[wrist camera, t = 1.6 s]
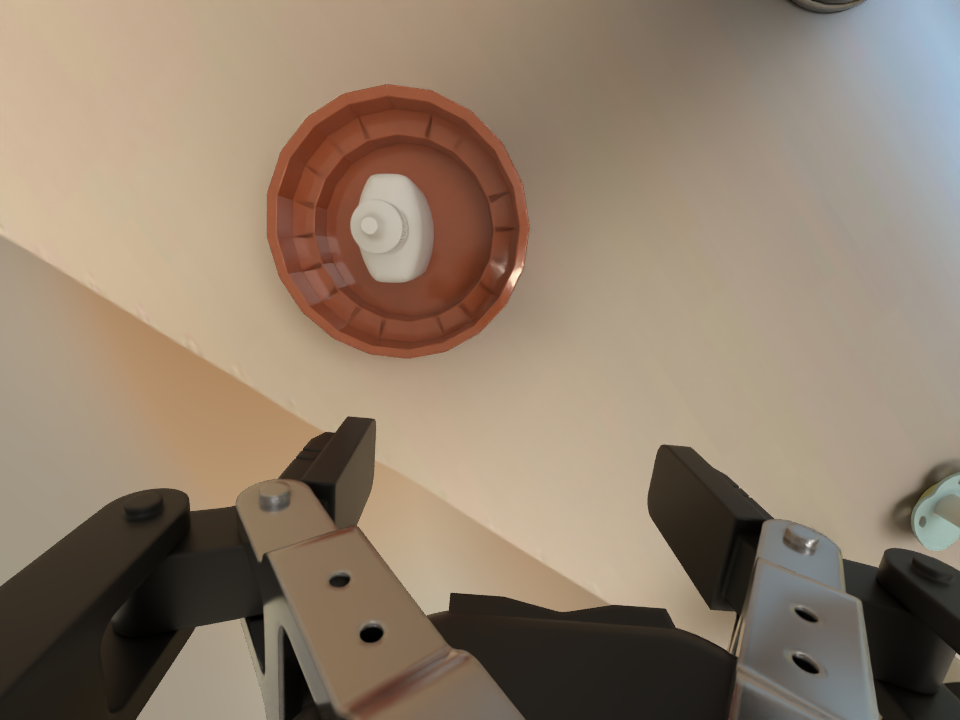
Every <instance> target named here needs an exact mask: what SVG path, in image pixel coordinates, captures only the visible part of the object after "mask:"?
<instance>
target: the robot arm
mask: <svg viewBox="0 0 960 720" xmlns="http://www.w3.org/2000/svg"><path fill="white" fill-rule="evenodd" d="M791 1H792V2H794V3H795V4H797V5H799V6H801V7H803V8H806V9H809V10H812V11H817V12H837V11H842V10H846V9H849V8H852V7H855V6H857V5H859V4H861V3H863V2H864V1H866V0H791ZM375 440H376V421H375V419H370V418H359V417H347V418H346V419H345V420H344V422H343V423H342V424H341V426H340V427H339V429H338V430H337V431H336V433H332V432H325V433H323V434H321V435H319V436H317V437H315V438H313V439H311V440H310V441H309V442H308V444H307V445H306V446H305V447H304V448H303V451H301V452H300V453H299V454H298V456H297V457H296V459H294V460H293V461H292V463H291V464H290V465H289V466H288V467H287V468H286V470H285V471H284V472H283V473H282V474H281V476H280V477H279V478H278V479H273V480H268V481H263V482H260V483H257V484H254V485H252V486H250V487H248V488H247V489H245V490H244V491H242V492H241V493H240V494H239V495H238V497H237V499H236V506H232V507H226V508H219V509H208V510H199V511H190V504H189V497H188V496H187V494H185V493H184V492H182V491H179V490H175V489H167V488H160V489H150V490H144V491H139V492H135V493H132V494H129V495H126V496H123V497H121V498H118V499H116V500H114V501H112V502H111V503H109V504H107V505H106V506H104V507H103V508H102V509H101V510H99V511H98V512H97V513H95V514H94V515H93V516H92V517H90V518H89V519H88V520H86V521H85V522H84V523H83V524H81V525H80V526H78V527H77V528H76V529H75V530H73V531H72V532H71V533H69V534H68V535H67V536H65V537H64V538H63V539H62V540H60V541H59V542H58V543H56V544H55V545H54V546H52V547H51V548H50V549H49V550H47V551H46V552H45V553H43V554H42V555H41V556H39V557H38V558H37V559H36V560H34V561H33V562H32V563H30V564H29V565H28V566H27V567H25V568H24V569H23V570H21V571H20V572H19V573H17V574H16V575H15V576H13V577H12V578H11V579H10V580H8V581H7V582H6V583H4V584H3V585H2V586H0V720H136V718H137V716H138V715H139V714H140V712H141V711H142V709H143V708H144V706H145V705H146V703H147V702H148V700H149V698H150V697H151V695H152V694H153V692H154V691H155V689H156V688H157V686H158V685H159V683H160V682H161V680H162V679H163V677H164V675H165V674H166V672H167V671H168V669H169V668H170V666H171V665H172V663H173V662H174V660H175V658H176V657H177V655H178V654H179V653H180V651H181V649H182V648H183V646H184V645H185V643H186V642H187V640H188V639H189V637H190V636H191V634H192V633H193V631H194V629H195V627H197V626H203V625H208V624H213V623H219V622H223V621H229V620H235V619H240V618H241V625H242V628H243V632H244V635H245V639H246V642H247V645H248V649H249V652H250V655H251V659H252V662H253V665H254V669H255V672H256V675H257V678H258V682H259V685H260V689H261V692H262V696H263V700H264V705H265V712H266V718H267V720H879V714H880V715H881V716H882V717H883V718H884V720H960V700H959V699H958V698H957V697H956V696H955V695H954V694H953V693H952V692H951V691H950V690H949V689H948V688H947V687H946V686H945V685H944V684H943V681H944V678H945V676H946V674H947V672H948V670H949V667H950V665H951V663H952V661H953V658H954V656H955V654H956V652H957V653H958V654H959V655H960V571H958V570H957V569H955V568H953V567H951V566H949V565H947V564H946V563H943V562H942V561H939V560H937V559H935V558H932V557H930V556H927V555H924V554H921V553H918V552H914V551H910V550H906V549H900V548H890V549H887V550H886V551H885V552H884V555H883V557H882V560H881V563H880V565H879V568H877V567H873V566H869V565H866V564H862V563H858V562H854V561H850V560H846V559H842V553H841V550H840V549H839V547H838V546H837V545H836V544H835V543H834V542H833V541H831V540H830V539H829V538H827V537H826V536H824V535H823V534H821V533H819V532H817V531H815V530H813V529H811V528H809V527H807V526H804V525H801V524H798V523H795V522H792V521H787V520H781V519H774V518H773V517H772V516H771V515H770V514H768V513H767V512H766V511H765V510H764V509H763V508H762V507H761V506H760V505H759V504H758V503H756V502H755V501H754V500H753V499H752V498H749V495H748V494H747V493H745V492H744V491H743V490H742V489H741V488H739V486H738V485H737V484H736V483H735V482H733V481H732V480H731V479H730V478H729V477H728V476H727V475H725V474H723V473H722V472H720V471H718V470H716V469H715V468H713V467H712V466H711V465H710V464H708V463H707V462H706V461H705V460H704V459H703V458H702V457H701V456H700V455H699V454H698V453H697V452H696V451H695V450H693V449H692V448H691V447H685V446H674V445H661V446H660V448H659V449H658V452H657V455H656V460H655V464H654V469H653V474H652V478H651V483H650V487H649V492H648V510H649V514H650V517H651V518H652V520H653V522H654V523H655V525H656V526H657V528H658V529H659V531H660V532H661V534H662V536H663V537H664V539H665V540H666V542H667V543H668V545H669V546H670V548H671V549H672V551H673V553H674V554H675V556H676V557H677V559H678V560H679V562H680V563H681V565H682V566H683V568H684V570H685V571H686V573H687V574H688V576H689V577H690V579H691V580H692V582H693V583H694V585H695V587H696V588H697V590H698V591H699V593H700V594H701V596H702V597H703V599H704V600H705V602H706V603H707V605H708V607H709V608H710V610H722V611H736V613H737V614H736V618H735V621H734V624H733V628H732V632H731V636H730V641H729V645H728V649H727V651H726V650H725V649H723V648H721V647H720V646H718V645H716V644H714V643H712V642H710V641H708V640H706V639H704V638H702V637H700V636H697V635H695V634H692V633H690V632H687V631H684V630H681V629H678V628H676V627H675V625H674V623H673V622H672V620H671V618H670V616H669V614H668V612H667V610H666V609H662V608H649V607H635V606H622V605H610V606H603V607H597V608H590V609H583V610H577V611H570V612H558V611H554V610H550V609H546V608H543V607H539V606H536V605H532V604H528V603H525V602H521V601H517V600H514V599H510V598H506V597H500V596H486V595H473V594H459V593H451V594H450V604H449V611H443V612H438V613H434V614H431V615H427V616H426V615H425V614H424V612H423V611H422V610H421V608H420V607H419V606H418V604H417V603H416V602H415V600H414V599H413V598H412V597H411V595H410V594H409V593H408V591H407V590H406V589H405V587H404V586H403V585H402V583H401V582H400V581H399V580H398V578H397V577H396V576H395V574H394V573H393V572H392V570H391V569H390V568H389V566H388V565H387V564H386V562H385V561H384V560H383V558H382V557H381V556H380V554H379V553H378V552H377V550H376V549H375V548H374V546H373V545H372V544H371V543H370V541H369V540H368V539H367V537H366V536H365V535H364V533H363V532H362V531H361V530H360V528H359V527H357V523H358V521H359V519H360V516H361V514H362V512H363V509H364V507H365V504H366V502H367V499H368V497H369V495H370V492H371V489H372V484H373V477H374V462H375ZM878 712H879V714H878Z"/></svg>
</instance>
